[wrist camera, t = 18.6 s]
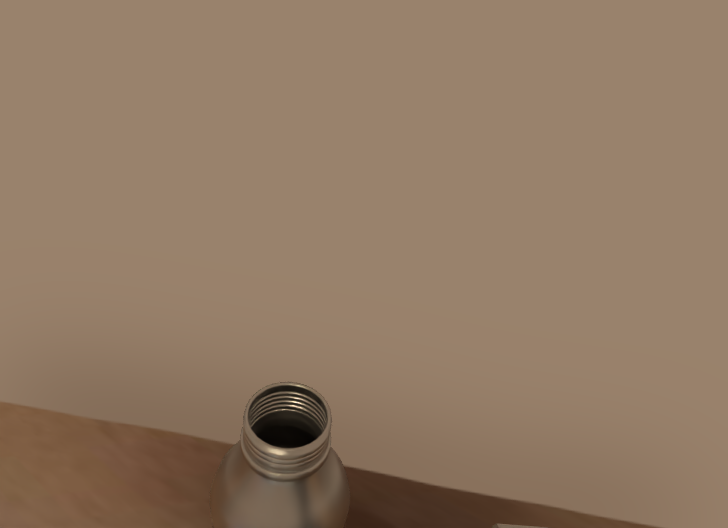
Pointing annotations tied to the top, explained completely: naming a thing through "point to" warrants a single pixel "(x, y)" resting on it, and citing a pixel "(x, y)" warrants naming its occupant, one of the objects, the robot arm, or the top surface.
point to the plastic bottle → (282, 465)
